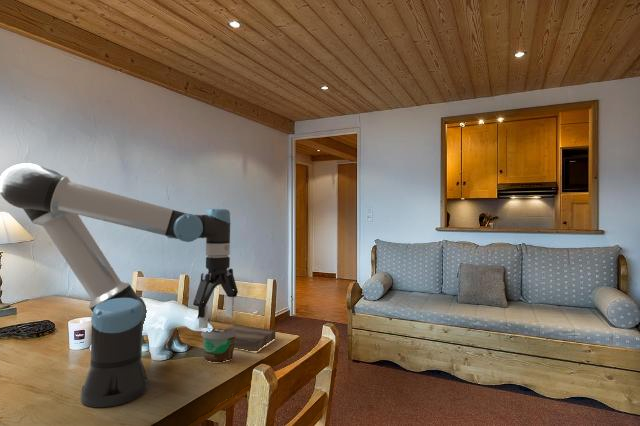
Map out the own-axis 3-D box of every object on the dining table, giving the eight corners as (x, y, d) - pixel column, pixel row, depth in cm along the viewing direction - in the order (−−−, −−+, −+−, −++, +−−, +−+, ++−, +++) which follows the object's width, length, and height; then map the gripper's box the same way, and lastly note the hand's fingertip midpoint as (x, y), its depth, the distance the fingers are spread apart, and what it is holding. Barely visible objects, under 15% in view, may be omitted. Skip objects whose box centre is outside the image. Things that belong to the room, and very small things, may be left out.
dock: (256, 353, 123) (256, 341, 123) (212, 345, 130) (213, 334, 130) (275, 340, 136) (275, 330, 136) (234, 334, 143) (235, 324, 143)
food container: (192, 361, 115) (193, 330, 115) (203, 354, 121) (204, 325, 121) (226, 367, 111) (227, 334, 112) (236, 359, 117) (237, 329, 117)
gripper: (202, 260, 104) (201, 334, 103) (248, 253, 127) (247, 313, 127) (181, 259, 106) (180, 331, 106) (230, 252, 130) (229, 311, 129)
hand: (216, 321), depth 116 cm, fingers open, 13 cm apart
